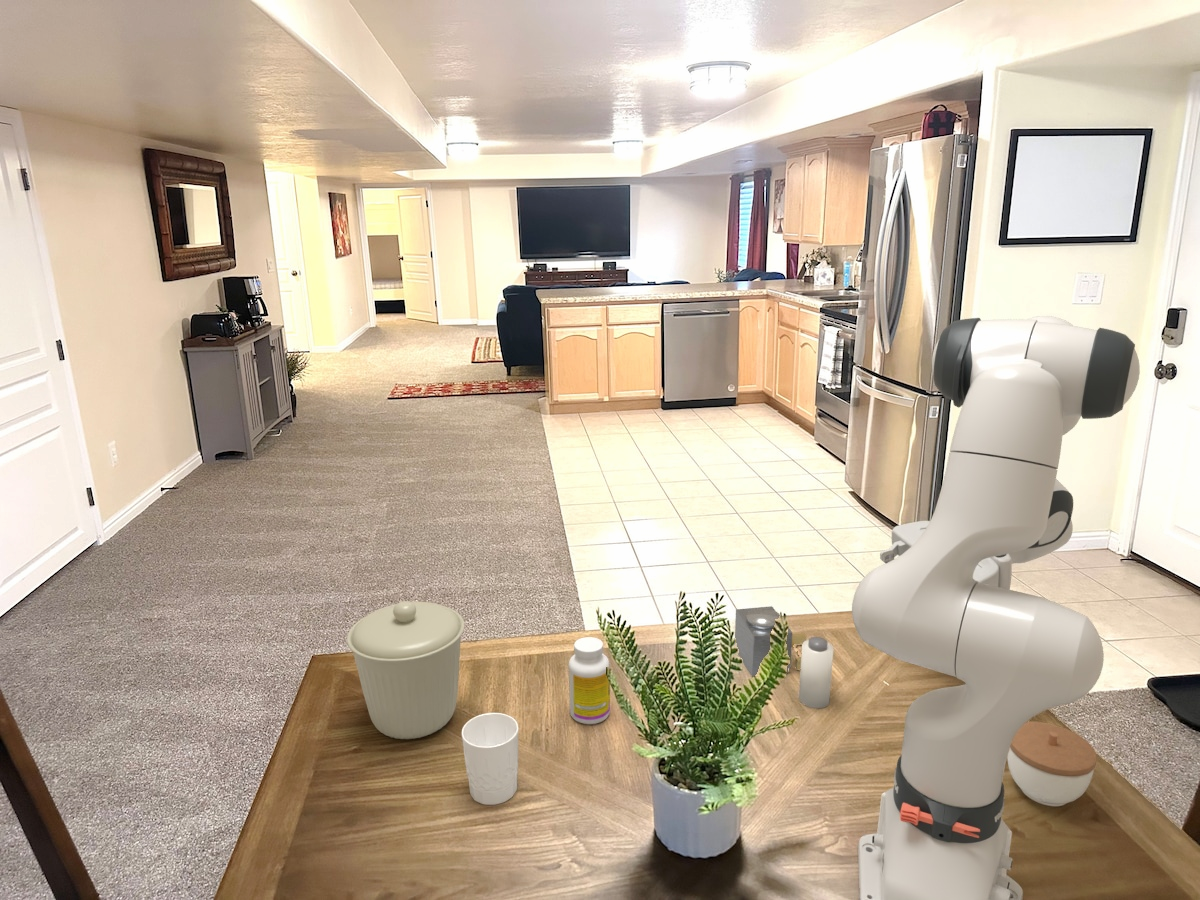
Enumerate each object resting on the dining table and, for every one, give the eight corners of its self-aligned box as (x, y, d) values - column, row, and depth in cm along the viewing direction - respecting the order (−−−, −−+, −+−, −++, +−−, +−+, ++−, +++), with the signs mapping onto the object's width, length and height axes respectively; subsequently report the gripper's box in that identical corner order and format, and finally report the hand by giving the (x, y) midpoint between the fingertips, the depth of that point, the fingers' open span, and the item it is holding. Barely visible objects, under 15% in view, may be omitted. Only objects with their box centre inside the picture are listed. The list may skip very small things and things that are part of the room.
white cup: (532, 782, 116) (529, 722, 113) (498, 816, 110) (495, 754, 107) (489, 764, 120) (485, 706, 117) (454, 796, 114) (449, 736, 111)
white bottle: (825, 711, 132) (830, 652, 128) (795, 703, 134) (799, 645, 131) (832, 695, 136) (836, 637, 133) (802, 688, 138) (806, 631, 135)
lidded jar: (1101, 822, 107) (1113, 763, 104) (1016, 814, 109) (1025, 755, 106) (1069, 769, 117) (1079, 714, 115) (991, 762, 119) (999, 708, 116)
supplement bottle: (616, 720, 130) (615, 650, 126) (578, 730, 128) (576, 658, 124) (601, 698, 136) (600, 630, 132) (564, 707, 134) (562, 638, 130)
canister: (412, 770, 119) (400, 644, 113) (333, 729, 129) (318, 611, 123) (493, 709, 133) (486, 594, 127) (416, 677, 143) (406, 568, 137)
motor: (824, 669, 144) (827, 624, 141) (752, 676, 142) (754, 631, 139) (796, 633, 156) (799, 591, 153) (729, 639, 154) (731, 597, 151)
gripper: (934, 505, 140) (863, 526, 138) (1018, 563, 122) (937, 589, 120) (934, 536, 143) (864, 557, 140) (1016, 597, 124) (937, 623, 122)
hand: (898, 572), depth 130 cm, fingers open, 8 cm apart
